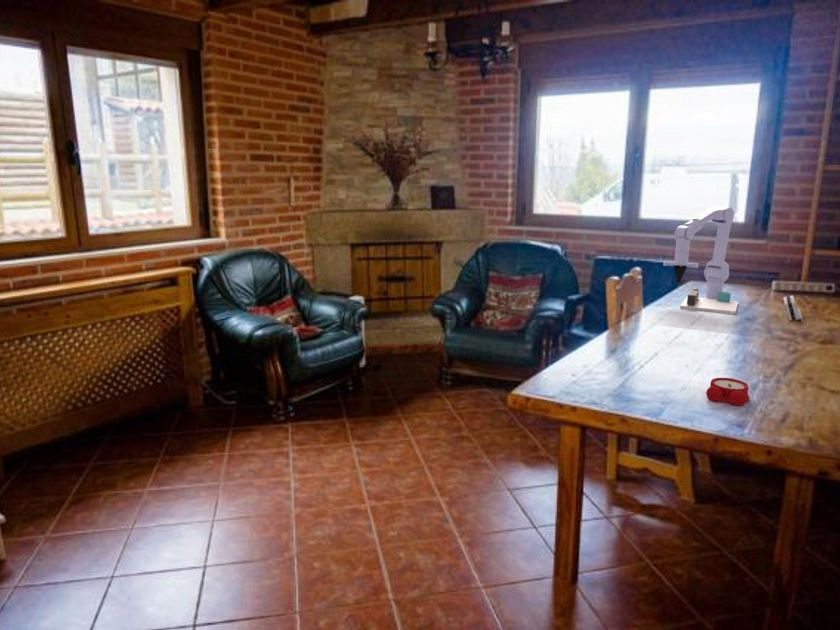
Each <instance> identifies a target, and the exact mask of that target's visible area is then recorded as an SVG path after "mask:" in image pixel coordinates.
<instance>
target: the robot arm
mask: <svg viewBox="0 0 840 630" xmlns="http://www.w3.org/2000/svg"><path fill="white" fill-rule="evenodd" d="M734 217H735V211H734V209H733V208H732V207H731V206H716V205H710V207H707V210H706V211H705V212H704V213H703V214H702V215H700V216H699V217H692V218H691V219H690V220H689V221H688V222H686V223H684V224H683V225H678V226H677V227H676V228H675V230H674V232H673V234H674V238H675V239H674V241H675V252H674V260H664V261H663V266H664V267H665V266H669V267H673V270H674V273H675V276H676V283H678V284H681V283H682V279H683V276H684V275H685V272H686V271H687V269H688V268H692V269H693V268H694V269H698V268H699V263H697V262H689V255H690V249H691V247H690V246H691V240H692V239H693V238H694V235H695V234H696V233H697V232H699V231H700V230H701V229H703V227H704V225H705V224H707V223H709V222H710V221H711V222H712V223H713V224H716V226H717V230H716V236H715V241H714V249H713V253H712V259H711V260H710V261H708V262H707V263H706V266H705V268H704V270H703V275H704V278H705V280H706V288H705V295H704V297H703V298H706V299H716V300H718V293H719V292H724V283H725V282H726V281H727V280H728V278H729V277H730V265H729V264H728V263H727V262H726V261H725V259H726V254H727V249H728V248H727V247H728V242H729V238H730V231H731V226H732V225H733V221H734Z"/></svg>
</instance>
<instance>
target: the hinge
mask: <svg viewBox="0 0 840 630" xmlns="http://www.w3.org/2000/svg"><path fill="white" fill-rule="evenodd" d="M783 301H784V303H783V304H784V307H785V311H786V315H787V318H788V321H789V320H791V321H793V320H795V321H797V320H801V322H802V321H803V322H804V320H803V317H802V312H801V309H799V308H798V307H797V305H796V300H795V296H794V295H789V296H784V297H783Z"/></svg>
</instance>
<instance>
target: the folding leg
mask: <svg viewBox="0 0 840 630" xmlns="http://www.w3.org/2000/svg"><path fill="white" fill-rule="evenodd" d="M699 294H700V291H699V288H695V287H694V288H693V289H691V291H690V293H688V295H687V297H688V298H687V305H695V303H696V302H697V300H698V298H699Z"/></svg>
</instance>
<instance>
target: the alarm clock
mask: <svg viewBox="0 0 840 630" xmlns="http://www.w3.org/2000/svg"><path fill="white" fill-rule="evenodd" d="M706 398H707V399H708V400H709V401H711V402H714V403H719V402H722V403H726V404H727V403H728V404H731V405H732V406H735V407H741V406H743V405H745V404H746V403H748V402H749V401H750V396H749V385H748V383H747V382H745V381H743V380H739V379H735V378H729V377H716V378H712V379H711V381H710V384H709V387H708V388H707V390H706Z"/></svg>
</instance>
